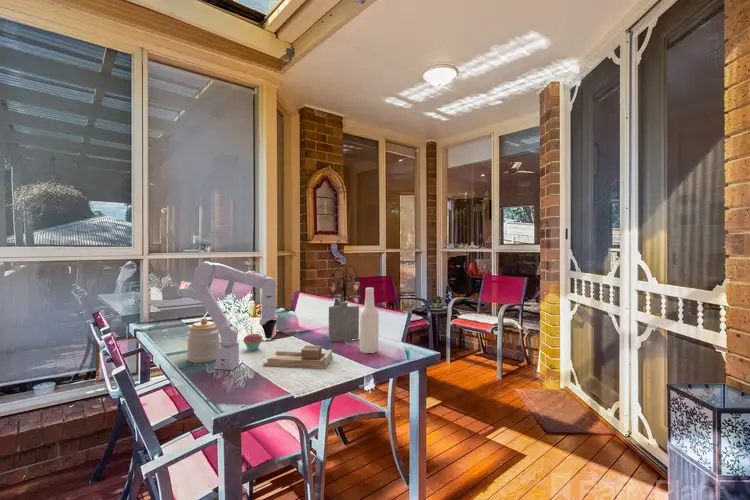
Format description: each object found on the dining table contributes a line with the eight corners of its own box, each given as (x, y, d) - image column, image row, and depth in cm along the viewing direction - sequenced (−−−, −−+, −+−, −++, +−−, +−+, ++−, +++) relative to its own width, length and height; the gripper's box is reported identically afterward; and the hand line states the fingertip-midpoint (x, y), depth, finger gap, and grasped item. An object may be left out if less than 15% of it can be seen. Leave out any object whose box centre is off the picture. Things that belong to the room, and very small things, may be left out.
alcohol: (355, 350, 175) (356, 287, 174) (370, 347, 180) (371, 286, 179) (366, 355, 168) (367, 289, 167) (381, 351, 173) (382, 288, 172)
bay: (325, 368, 149) (325, 358, 149) (263, 365, 151) (263, 356, 151) (332, 357, 163) (332, 348, 163) (275, 355, 165) (275, 346, 165)
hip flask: (358, 338, 197) (358, 301, 196) (359, 340, 193) (359, 302, 192) (328, 339, 193) (328, 301, 193) (329, 341, 189) (329, 302, 189)
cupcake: (258, 352, 170) (258, 326, 170) (240, 351, 170) (240, 325, 170) (264, 346, 179) (264, 322, 178) (247, 346, 179) (247, 321, 179)
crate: (317, 362, 153) (317, 350, 153) (301, 361, 154) (301, 349, 154) (321, 357, 160) (321, 345, 160) (305, 356, 161) (305, 345, 160)
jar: (207, 364, 152) (207, 322, 152) (180, 362, 155) (180, 320, 154) (226, 355, 165) (226, 316, 164) (200, 353, 167) (200, 314, 167)
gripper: (271, 309, 148) (271, 342, 149) (283, 303, 163) (283, 333, 163) (254, 308, 149) (254, 342, 149) (268, 302, 163) (267, 333, 164)
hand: (268, 337), depth 156 cm, fingers closed
